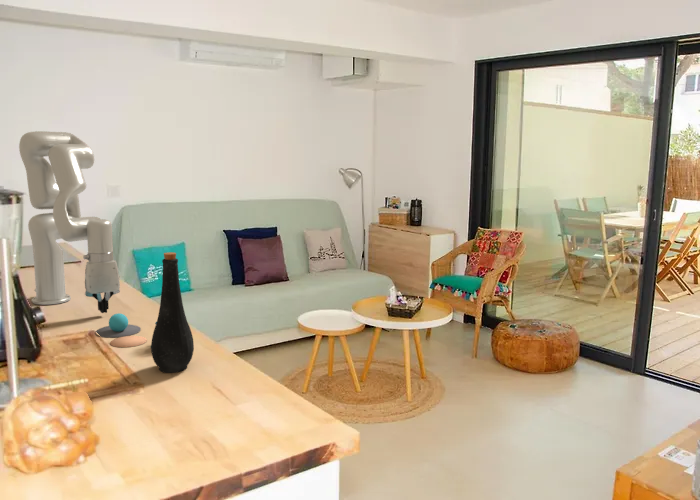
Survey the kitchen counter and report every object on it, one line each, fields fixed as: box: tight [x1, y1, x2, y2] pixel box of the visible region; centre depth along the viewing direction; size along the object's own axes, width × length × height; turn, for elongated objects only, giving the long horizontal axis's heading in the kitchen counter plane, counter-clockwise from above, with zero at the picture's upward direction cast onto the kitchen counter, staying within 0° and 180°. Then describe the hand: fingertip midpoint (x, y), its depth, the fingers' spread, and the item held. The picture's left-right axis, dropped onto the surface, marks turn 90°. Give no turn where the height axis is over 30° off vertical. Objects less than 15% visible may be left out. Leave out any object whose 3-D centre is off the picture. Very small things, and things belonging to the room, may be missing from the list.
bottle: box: [150, 251, 195, 374], centre depth 155 cm, size 11×11×30 cm
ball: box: [108, 312, 129, 332], centre depth 186 cm, size 6×6×6 cm
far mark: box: [109, 335, 148, 348], centre depth 177 cm, size 10×10×1 cm
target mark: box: [95, 323, 142, 339], centre depth 187 cm, size 13×13×1 cm
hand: (103, 311), depth 202 cm, fingers closed
